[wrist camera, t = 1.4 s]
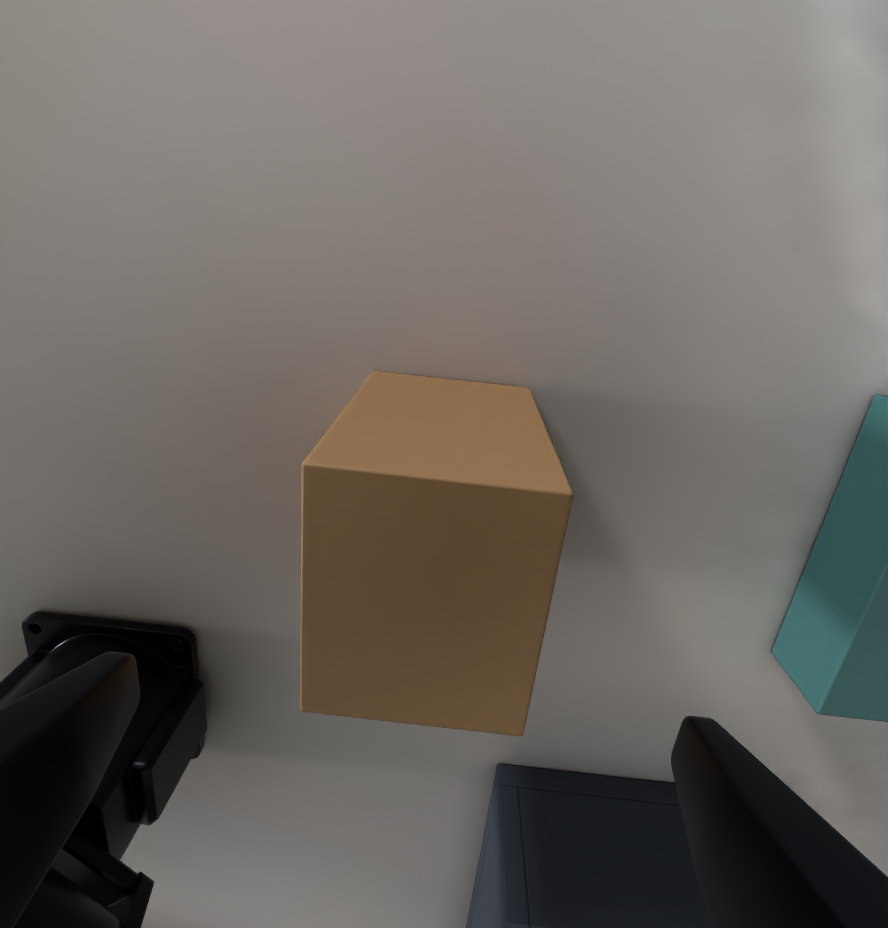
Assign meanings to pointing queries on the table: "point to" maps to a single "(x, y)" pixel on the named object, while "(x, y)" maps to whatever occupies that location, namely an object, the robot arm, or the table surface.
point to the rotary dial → (846, 590)
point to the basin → (584, 855)
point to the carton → (429, 554)
